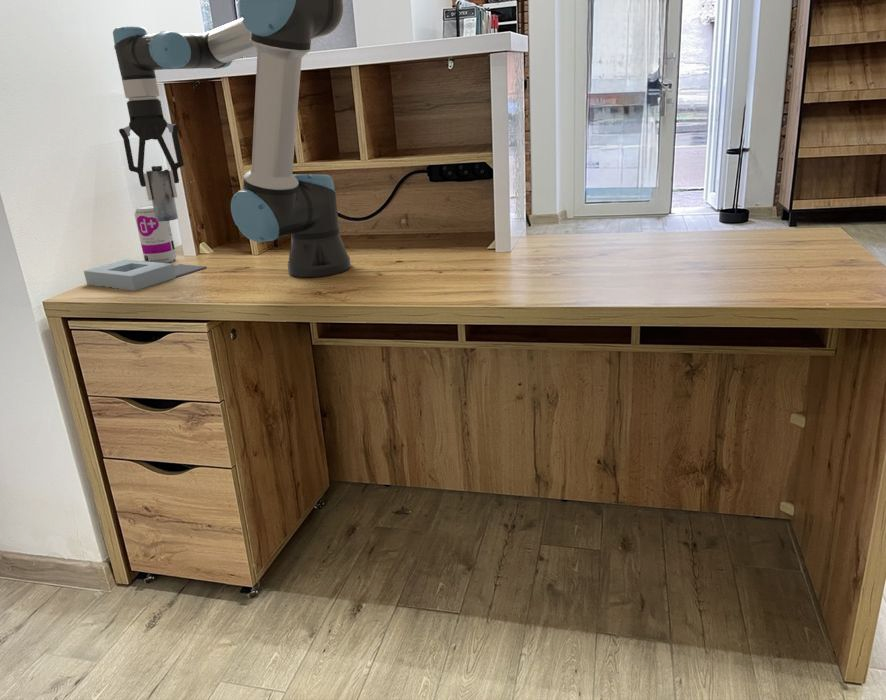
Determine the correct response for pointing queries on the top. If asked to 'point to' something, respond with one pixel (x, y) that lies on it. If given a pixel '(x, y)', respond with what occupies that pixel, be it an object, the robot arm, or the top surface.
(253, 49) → the robot arm
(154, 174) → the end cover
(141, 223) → the supplement can
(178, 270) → the pad
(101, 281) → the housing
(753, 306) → the top surface
